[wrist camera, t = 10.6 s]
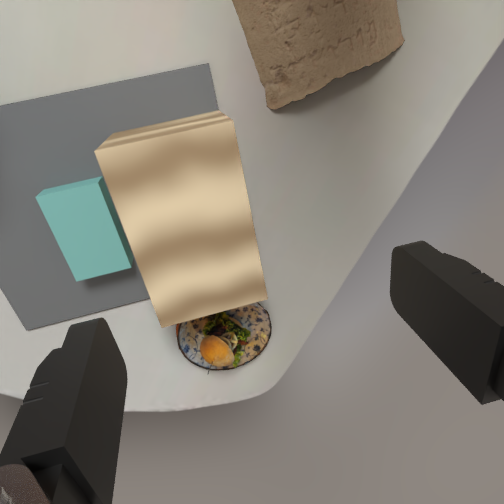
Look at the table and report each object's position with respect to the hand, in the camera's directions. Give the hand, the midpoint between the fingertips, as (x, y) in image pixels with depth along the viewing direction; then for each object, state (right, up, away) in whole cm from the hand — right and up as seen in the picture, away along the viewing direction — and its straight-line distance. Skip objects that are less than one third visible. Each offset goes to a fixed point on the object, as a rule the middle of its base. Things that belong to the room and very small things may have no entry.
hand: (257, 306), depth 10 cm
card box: (-16, +3, +24) cm, 29 cm away
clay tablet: (+6, +23, +23) cm, 33 cm away
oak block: (-7, +7, +27) cm, 29 cm away
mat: (-15, +6, +26) cm, 31 cm away
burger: (-4, -8, +36) cm, 37 cm away
